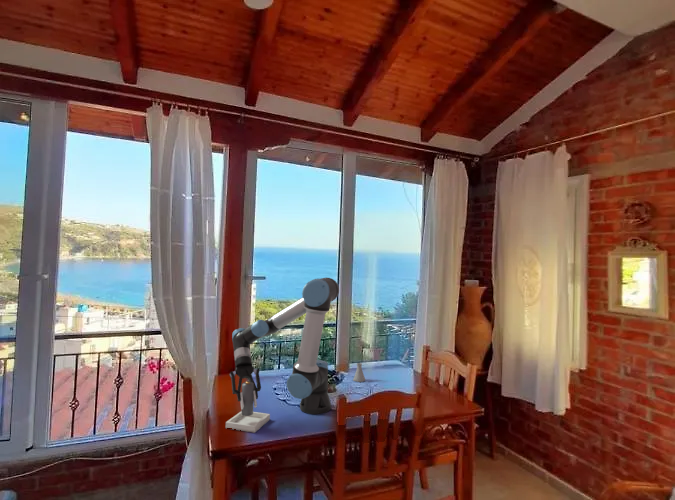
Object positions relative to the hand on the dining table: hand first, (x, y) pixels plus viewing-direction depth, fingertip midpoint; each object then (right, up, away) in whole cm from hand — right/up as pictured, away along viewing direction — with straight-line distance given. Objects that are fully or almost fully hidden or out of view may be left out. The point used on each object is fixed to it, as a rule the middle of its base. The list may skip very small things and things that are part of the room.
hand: (249, 406), depth 175 cm
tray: (-1, -9, +3) cm, 9 cm away
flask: (+51, -10, +65) cm, 83 cm away
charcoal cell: (-1, -4, +3) cm, 6 cm away
